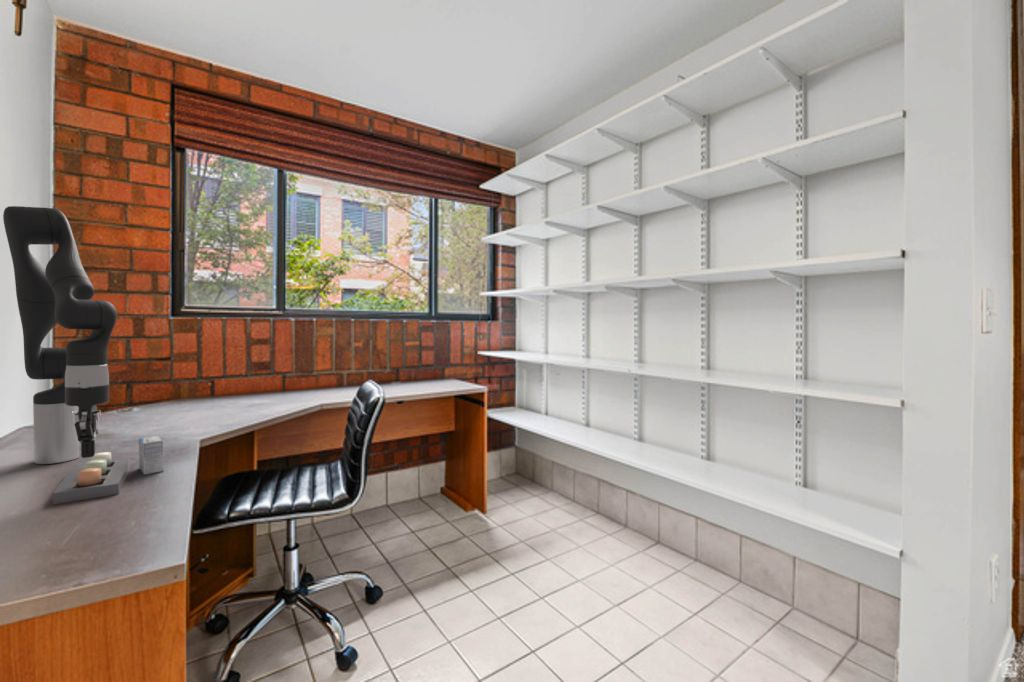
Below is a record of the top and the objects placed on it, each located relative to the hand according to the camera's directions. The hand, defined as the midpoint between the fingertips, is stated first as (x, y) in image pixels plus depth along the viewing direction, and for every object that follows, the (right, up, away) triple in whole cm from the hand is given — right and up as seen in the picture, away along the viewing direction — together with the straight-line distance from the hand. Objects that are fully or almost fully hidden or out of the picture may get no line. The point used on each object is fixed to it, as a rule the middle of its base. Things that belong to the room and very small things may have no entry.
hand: (88, 456), depth 104 cm
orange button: (0, -6, 0) cm, 6 cm away
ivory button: (-10, -6, +13) cm, 17 cm away
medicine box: (0, -9, +18) cm, 20 cm away
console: (-5, -9, +7) cm, 12 cm away
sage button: (-5, -6, +7) cm, 10 cm away
